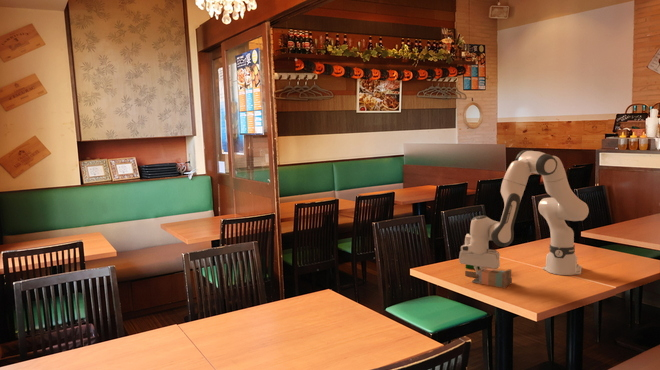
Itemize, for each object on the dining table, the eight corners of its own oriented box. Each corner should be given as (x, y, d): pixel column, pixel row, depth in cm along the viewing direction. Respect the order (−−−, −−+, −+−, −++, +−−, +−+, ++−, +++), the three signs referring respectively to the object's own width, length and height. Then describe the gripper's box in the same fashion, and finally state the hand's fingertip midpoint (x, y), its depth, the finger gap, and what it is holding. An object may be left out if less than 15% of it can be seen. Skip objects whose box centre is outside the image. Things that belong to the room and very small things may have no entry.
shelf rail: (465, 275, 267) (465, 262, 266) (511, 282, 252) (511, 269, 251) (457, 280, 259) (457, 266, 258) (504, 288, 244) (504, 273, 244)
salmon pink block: (487, 279, 258) (487, 268, 258) (494, 280, 256) (494, 269, 255) (481, 283, 252) (481, 272, 251) (488, 284, 250) (488, 273, 249)
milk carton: (482, 265, 284) (482, 230, 282) (480, 270, 276) (480, 233, 274) (466, 264, 288) (466, 229, 285) (463, 268, 279) (463, 233, 277)
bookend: (478, 278, 261) (478, 267, 260) (487, 280, 258) (487, 268, 257) (472, 282, 255) (472, 270, 254) (481, 283, 252) (481, 272, 251)
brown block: (494, 280, 256) (494, 269, 255) (501, 282, 254) (501, 270, 253) (488, 285, 250) (488, 273, 249) (495, 286, 248) (495, 274, 247)
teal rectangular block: (501, 282, 254) (501, 270, 253) (508, 283, 252) (508, 271, 251) (495, 286, 248) (495, 274, 247) (502, 287, 245) (502, 275, 245)
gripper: (501, 249, 251) (501, 276, 253) (463, 244, 264) (462, 270, 266) (497, 251, 246) (496, 279, 248) (457, 246, 259) (457, 272, 261)
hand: (478, 274), depth 257 cm, fingers closed
